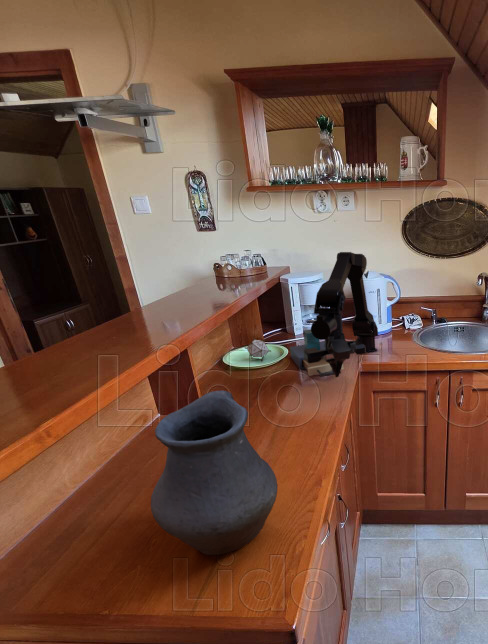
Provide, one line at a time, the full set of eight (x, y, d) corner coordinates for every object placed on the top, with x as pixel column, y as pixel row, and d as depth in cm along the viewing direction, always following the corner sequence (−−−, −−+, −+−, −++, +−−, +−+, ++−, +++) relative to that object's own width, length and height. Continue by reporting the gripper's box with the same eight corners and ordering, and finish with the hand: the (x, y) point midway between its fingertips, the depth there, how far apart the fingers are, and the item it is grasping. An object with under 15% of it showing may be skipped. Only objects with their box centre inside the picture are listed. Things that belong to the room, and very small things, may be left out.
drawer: (348, 374, 142) (348, 367, 141) (313, 381, 137) (312, 373, 136) (332, 358, 156) (331, 351, 155) (299, 364, 151) (298, 357, 150)
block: (316, 346, 158) (315, 328, 155) (320, 350, 154) (318, 331, 151) (305, 348, 156) (303, 330, 153) (308, 352, 153) (306, 333, 150)
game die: (266, 367, 162) (279, 347, 159) (250, 367, 154) (264, 345, 151) (251, 352, 164) (264, 332, 162) (236, 352, 157) (249, 330, 154)
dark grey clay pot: (143, 583, 67) (96, 451, 57) (193, 495, 87) (164, 385, 77) (273, 575, 68) (249, 443, 58) (292, 489, 88) (277, 380, 77)
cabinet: (336, 363, 154) (335, 351, 152) (300, 369, 149) (299, 358, 147) (325, 351, 165) (324, 341, 164) (291, 357, 160) (289, 346, 158)
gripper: (310, 341, 117) (315, 392, 123) (372, 331, 124) (373, 380, 130) (300, 331, 126) (305, 378, 132) (358, 322, 133) (360, 368, 139)
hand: (336, 376), depth 133 cm, fingers closed
